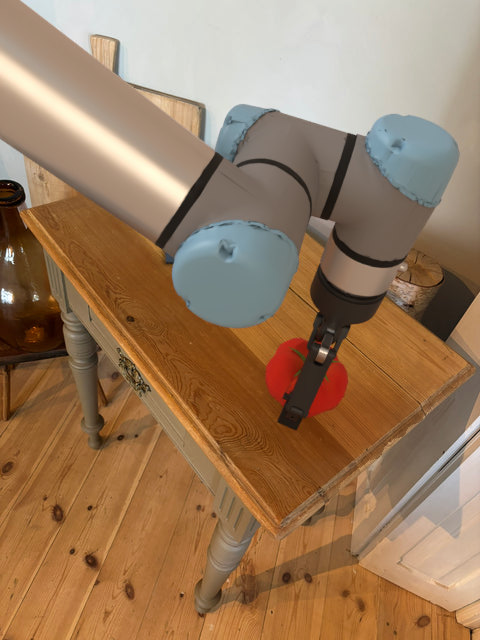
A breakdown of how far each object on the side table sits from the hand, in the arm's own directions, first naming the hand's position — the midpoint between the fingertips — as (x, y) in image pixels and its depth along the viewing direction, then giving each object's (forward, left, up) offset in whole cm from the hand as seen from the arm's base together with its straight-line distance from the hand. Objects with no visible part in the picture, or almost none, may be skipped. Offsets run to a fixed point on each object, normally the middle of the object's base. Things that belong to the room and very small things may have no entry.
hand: (299, 391), depth 64 cm
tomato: (0, 0, 0) cm, 0 cm away
